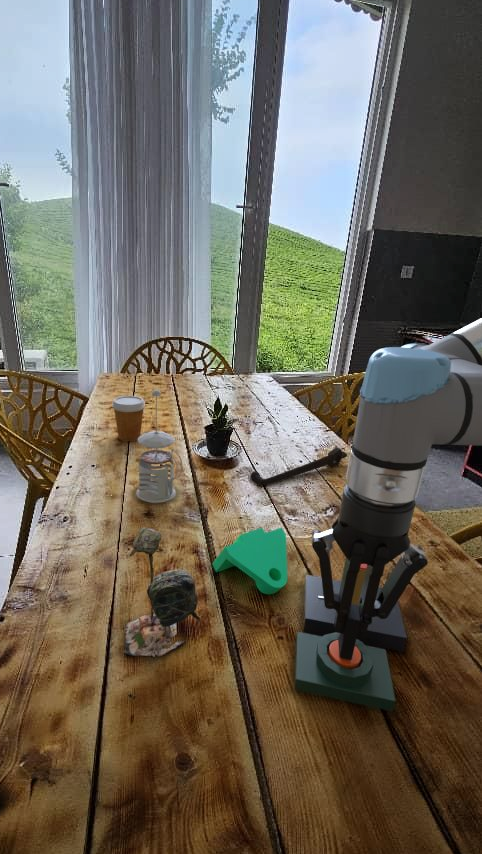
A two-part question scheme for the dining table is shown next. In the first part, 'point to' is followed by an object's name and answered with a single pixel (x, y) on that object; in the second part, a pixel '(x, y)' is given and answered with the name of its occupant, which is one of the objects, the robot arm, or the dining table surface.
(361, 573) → the olive tan box
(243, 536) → the camera mount
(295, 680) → the box
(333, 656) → the release button
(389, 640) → the black flat block
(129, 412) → the disposable coffee cup
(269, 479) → the wrench
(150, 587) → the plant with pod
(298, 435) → the dining table surface
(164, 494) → the french press
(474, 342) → the robot arm
